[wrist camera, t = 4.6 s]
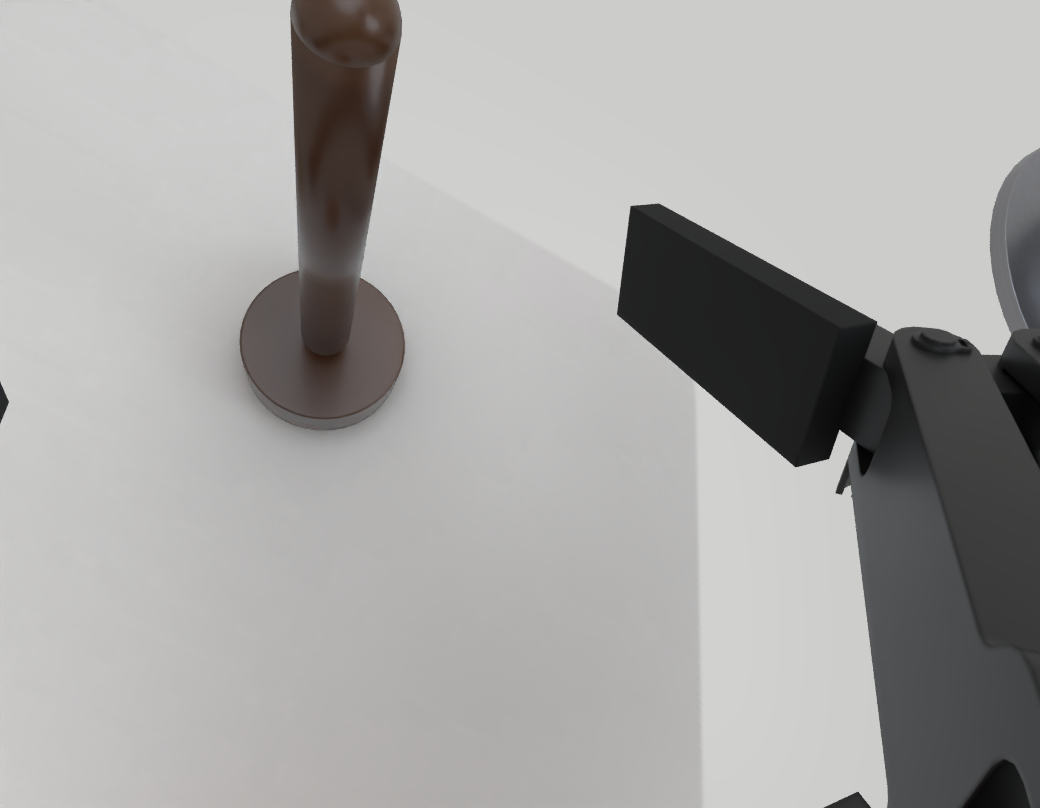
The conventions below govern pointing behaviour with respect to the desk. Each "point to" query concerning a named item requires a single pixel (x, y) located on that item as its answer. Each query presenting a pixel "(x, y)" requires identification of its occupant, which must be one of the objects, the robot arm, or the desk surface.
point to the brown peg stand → (331, 227)
